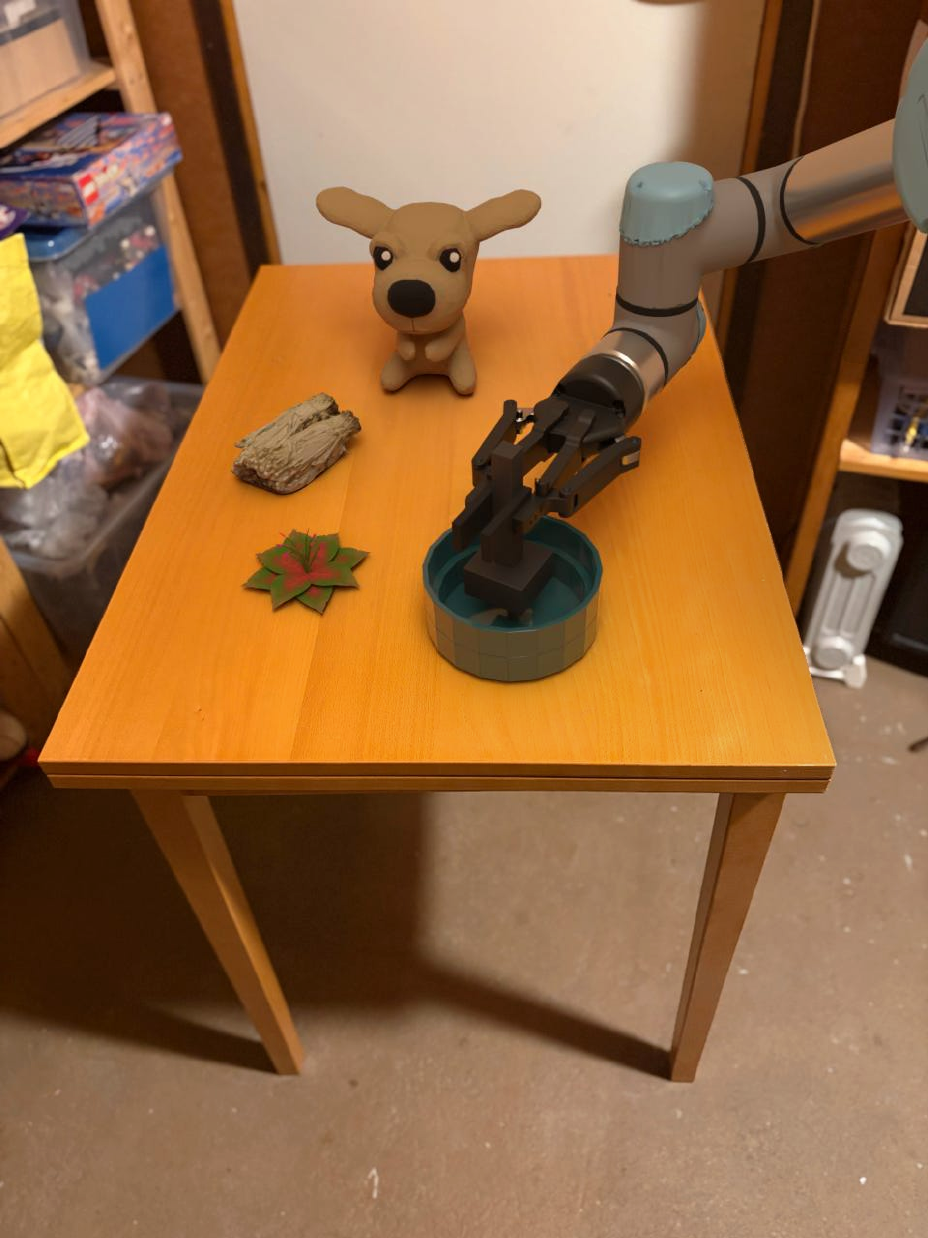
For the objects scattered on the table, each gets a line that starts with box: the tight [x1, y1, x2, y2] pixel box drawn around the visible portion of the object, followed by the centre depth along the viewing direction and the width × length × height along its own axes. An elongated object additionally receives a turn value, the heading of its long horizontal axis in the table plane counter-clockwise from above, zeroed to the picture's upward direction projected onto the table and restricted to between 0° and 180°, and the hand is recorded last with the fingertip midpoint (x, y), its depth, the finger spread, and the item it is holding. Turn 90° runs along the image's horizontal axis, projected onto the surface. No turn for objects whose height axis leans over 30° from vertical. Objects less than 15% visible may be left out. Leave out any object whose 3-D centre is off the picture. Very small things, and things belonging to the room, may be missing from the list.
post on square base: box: [463, 441, 554, 616], centre depth 74 cm, size 6×6×14 cm
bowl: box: [421, 514, 604, 682], centre depth 80 cm, size 15×15×6 cm
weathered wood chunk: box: [229, 391, 362, 495], centre depth 99 cm, size 14×10×5 cm, turn 142°
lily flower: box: [239, 528, 372, 615], centre depth 86 cm, size 12×12×5 cm
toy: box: [315, 186, 542, 395], centre depth 105 cm, size 25×20×20 cm
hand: (471, 542), depth 70 cm, fingers closed on post on square base, 2 cm apart
